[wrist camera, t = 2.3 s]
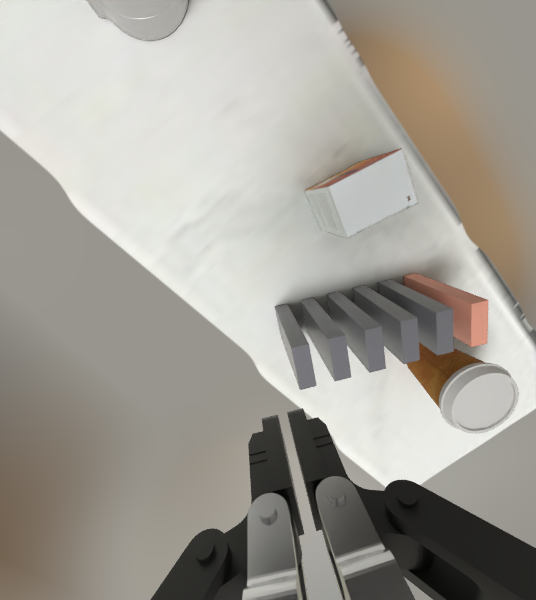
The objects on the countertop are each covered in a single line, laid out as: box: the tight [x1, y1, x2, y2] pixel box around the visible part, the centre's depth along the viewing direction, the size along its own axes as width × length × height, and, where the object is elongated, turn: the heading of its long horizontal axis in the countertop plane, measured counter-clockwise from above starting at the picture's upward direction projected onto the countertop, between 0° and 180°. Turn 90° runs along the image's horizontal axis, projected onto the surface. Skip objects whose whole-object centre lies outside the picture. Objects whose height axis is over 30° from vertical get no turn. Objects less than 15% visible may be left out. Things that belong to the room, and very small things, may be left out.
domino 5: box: [378, 279, 454, 355], centre depth 38 cm, size 2×5×13 cm, turn 12°
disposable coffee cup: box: [407, 342, 519, 433], centre depth 42 cm, size 10×10×12 cm
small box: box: [305, 148, 418, 238], centre depth 34 cm, size 8×6×10 cm
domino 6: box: [404, 273, 488, 347], centre depth 38 cm, size 2×5×13 cm, turn 12°
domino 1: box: [275, 304, 316, 390], centre depth 37 cm, size 2×5×13 cm, turn 12°
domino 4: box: [353, 285, 420, 364], centre depth 37 cm, size 2×5×13 cm, turn 12°
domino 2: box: [301, 298, 351, 381], centre depth 37 cm, size 2×5×13 cm, turn 12°
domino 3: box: [327, 291, 386, 373], centre depth 37 cm, size 2×5×13 cm, turn 12°
